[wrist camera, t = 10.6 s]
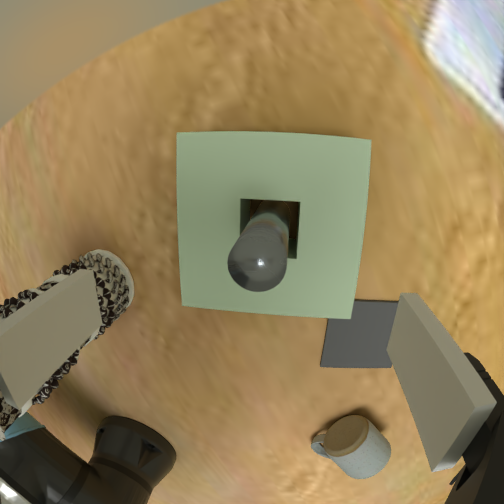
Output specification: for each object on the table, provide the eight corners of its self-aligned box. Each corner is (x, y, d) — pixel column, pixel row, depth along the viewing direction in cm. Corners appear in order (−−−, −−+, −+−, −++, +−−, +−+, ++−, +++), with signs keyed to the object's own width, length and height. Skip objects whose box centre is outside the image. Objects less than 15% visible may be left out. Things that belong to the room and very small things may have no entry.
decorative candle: (79, 235, 34) (-89, 332, 10) (142, 261, 33) (-25, 409, 10) (75, 297, 37) (-55, 409, 13) (132, 325, 36) (13, 473, 13)
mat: (320, 365, 35) (320, 367, 34) (331, 298, 32) (331, 300, 31) (390, 365, 34) (391, 367, 33) (408, 301, 31) (409, 303, 30)
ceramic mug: (364, 402, 36) (371, 445, 29) (387, 428, 37) (395, 468, 30) (299, 432, 39) (297, 473, 32) (327, 454, 41) (328, 493, 33)
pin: (256, 229, 31) (227, 289, 17) (257, 197, 30) (227, 234, 16) (289, 231, 30) (284, 294, 17) (290, 198, 29) (288, 237, 16)
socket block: (200, 280, 33) (182, 305, 27) (198, 135, 28) (176, 132, 23) (341, 290, 31) (350, 319, 26) (355, 142, 27) (371, 140, 21)
